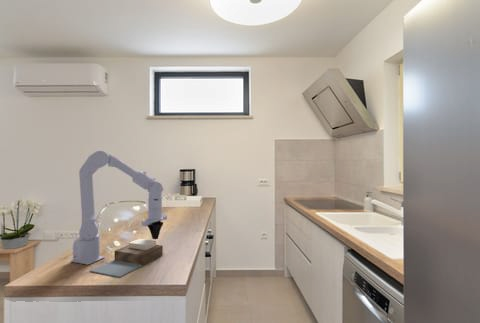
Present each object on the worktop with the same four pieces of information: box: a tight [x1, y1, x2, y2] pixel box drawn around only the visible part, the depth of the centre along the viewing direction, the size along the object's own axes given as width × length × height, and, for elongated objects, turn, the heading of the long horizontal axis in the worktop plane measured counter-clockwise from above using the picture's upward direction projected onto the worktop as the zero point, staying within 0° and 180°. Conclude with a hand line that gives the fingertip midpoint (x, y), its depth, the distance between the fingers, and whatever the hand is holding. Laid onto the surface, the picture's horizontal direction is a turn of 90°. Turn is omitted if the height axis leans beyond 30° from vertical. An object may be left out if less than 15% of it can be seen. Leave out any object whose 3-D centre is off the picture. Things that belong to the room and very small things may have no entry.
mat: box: [89, 259, 143, 278], centre depth 97 cm, size 14×11×1 cm
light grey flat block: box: [128, 238, 157, 250], centre depth 110 cm, size 9×6×2 cm, turn 69°
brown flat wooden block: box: [113, 244, 164, 267], centre depth 108 cm, size 14×12×4 cm
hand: (155, 238), depth 117 cm, fingers closed
